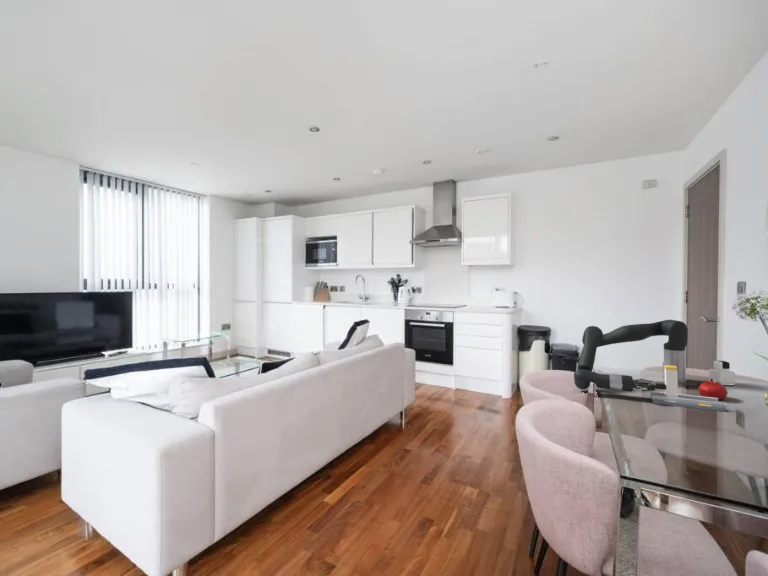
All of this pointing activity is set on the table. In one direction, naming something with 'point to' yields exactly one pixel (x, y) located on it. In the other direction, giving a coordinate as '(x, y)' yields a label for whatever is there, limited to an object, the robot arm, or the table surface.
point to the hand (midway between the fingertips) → (665, 386)
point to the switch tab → (671, 381)
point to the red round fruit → (713, 390)
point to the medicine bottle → (722, 373)
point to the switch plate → (687, 401)
